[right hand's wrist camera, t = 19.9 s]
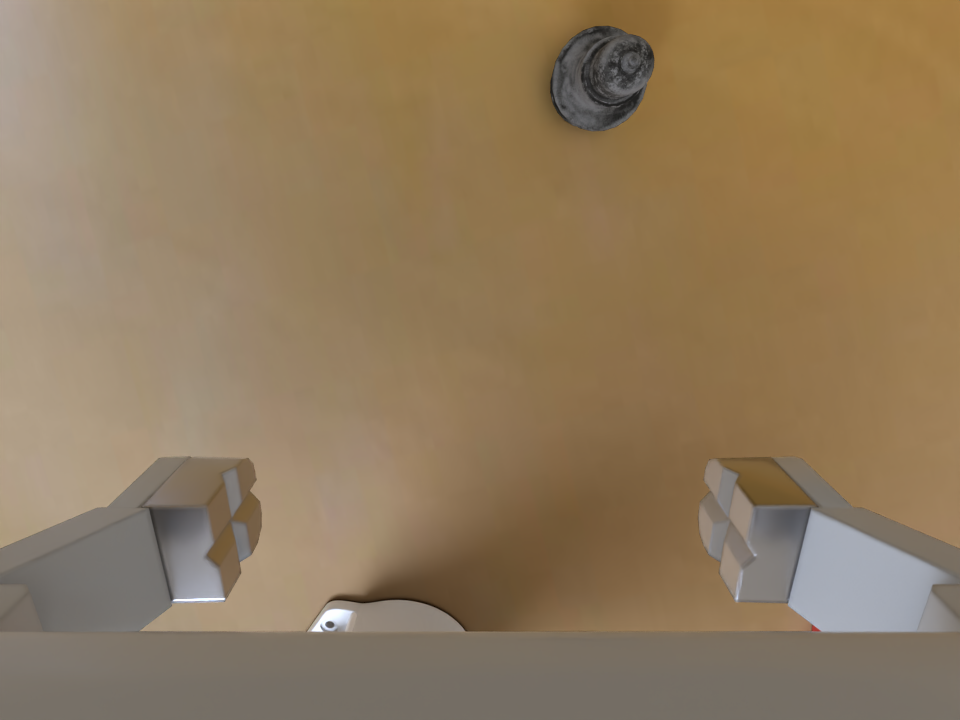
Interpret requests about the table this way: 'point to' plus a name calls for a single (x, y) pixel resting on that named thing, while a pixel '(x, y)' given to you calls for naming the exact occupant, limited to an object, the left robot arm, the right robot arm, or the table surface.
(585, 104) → the dark grey tapered piece
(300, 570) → the table surface
